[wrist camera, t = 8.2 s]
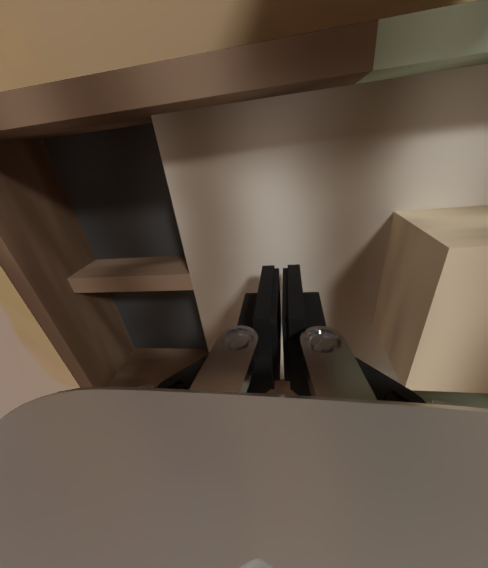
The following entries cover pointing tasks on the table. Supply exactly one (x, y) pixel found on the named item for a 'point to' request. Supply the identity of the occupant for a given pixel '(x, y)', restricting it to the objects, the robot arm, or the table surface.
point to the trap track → (236, 186)
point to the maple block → (436, 299)
